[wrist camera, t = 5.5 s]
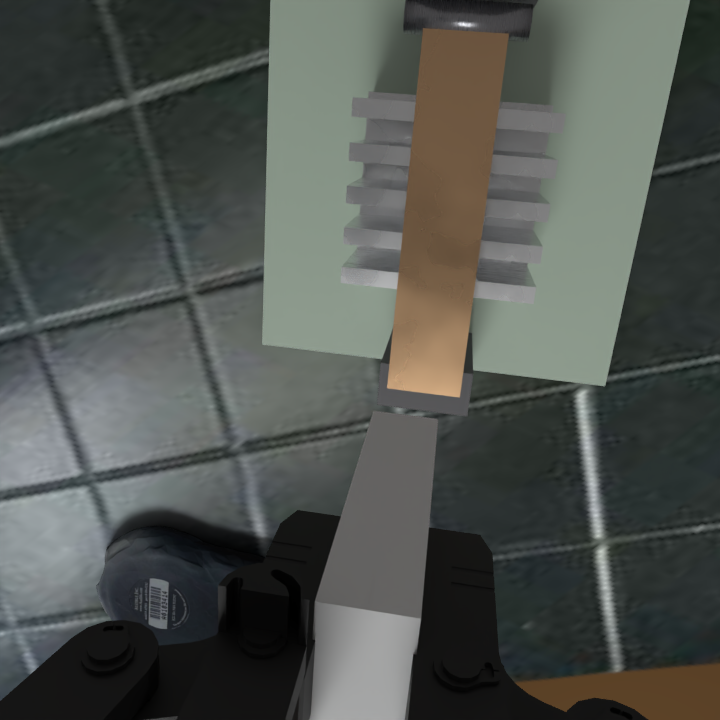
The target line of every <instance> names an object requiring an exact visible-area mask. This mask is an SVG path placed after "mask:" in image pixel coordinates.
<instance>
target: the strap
mask: <svg viewBox="0 0 720 720" xmlns="http://www.w3.org/2000/svg"><path fill="white" fill-rule="evenodd" d="M533 7H534V4H528V3H511V2H494V1H477V0H406V1H405V9H404V23H403V31H404V34H412V35H422V44H421V54H420V64H419V74H418V84H417V94H416V104H415V114H414V124H413V134H412V144H411V154H410V164H409V174H408V184H407V194H406V204H405V214H404V224H403V234H402V244H401V254H400V264H399V274H398V284H397V294H396V304H395V314H394V324H393V334H392V344H391V354H390V364H389V374H388V384H387V388H389V389H396V390H404V391H412V392H420V393H428V394H436V395H444V396H452V397H460V392H461V385H462V377H463V370H464V363H465V355H466V348H467V341H468V333H469V326H470V318H471V311H472V304H473V296H474V289H475V281H476V274H477V267H478V259H479V252H480V245H481V237H482V230H483V222H484V215H485V208H486V200H487V193H488V185H489V178H490V171H491V163H492V156H493V148H494V141H495V134H496V126H497V119H498V112H499V104H500V97H501V89H502V82H503V75H504V67H505V60H506V52H507V45H508V41H519V42H528V39H529V35H530V30H531V24H532V17H533Z"/></svg>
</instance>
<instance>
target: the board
mask: <svg viewBox="0 0 720 720" xmlns="http://www.w3.org/2000/svg"><path fill="white" fill-rule="evenodd" d="M405 1H406V0H271V3H270V44H269V86H268V128H267V169H266V211H265V252H264V294H263V336H262V344H263V345H271V346H279V347H287V348H296V349H304V350H312V351H320V352H329V353H337V354H345V355H353V356H361V357H370V358H378V359H382V361H381V366H380V377H379V388H378V399H377V405H383V406H391V407H399V408H406V409H414V410H422V411H430V412H437V413H445V414H453V415H460V416H467V414H468V407H469V400H470V393H471V386H472V379H473V370H477V371H485V372H493V373H501V374H510V375H518V376H526V377H534V378H543V379H551V380H559V381H567V382H575V383H584V384H592V385H600V386H605V384H606V380H607V375H608V371H609V366H610V361H611V357H612V352H613V348H614V343H615V339H616V334H617V330H618V325H619V320H620V316H621V311H622V307H623V302H624V298H625V293H626V289H627V284H628V280H629V275H630V270H631V266H632V261H633V257H634V252H635V248H636V243H637V239H638V234H639V229H640V225H641V220H642V216H643V211H644V207H645V202H646V198H647V193H648V189H649V184H650V179H651V175H652V170H653V166H654V161H655V157H656V152H657V148H658V143H659V138H660V134H661V129H662V125H663V120H664V116H665V111H666V107H667V102H668V98H669V93H670V88H671V84H672V79H673V75H674V70H675V66H676V61H677V57H678V52H679V47H680V43H681V38H682V34H683V29H684V25H685V20H686V16H687V11H688V7H689V2H690V0H477V1H494V2H511V3H528V4H534V7H533V17H532V24H531V30H530V35H529V39H528V42H519V41H508V45H507V52H506V60H505V67H504V75H503V82H502V89H501V97H500V102H513V103H527V104H540V105H553V112H552V113H564V114H566V117H565V123H564V128H563V134H561V133H549V136H548V142H547V149H546V155H548V156H550V157H552V158H555V159H557V160H558V164H557V169H556V175H555V179H548V178H542V179H541V185H540V191H539V193H540V194H541V195H542V196H543V197H544V198H545V199H546V200H547V201H548V202H549V203H550V204H551V205H550V210H549V216H548V222H547V223H546V222H536V221H535V222H534V228H533V230H534V232H535V234H536V235H537V237H538V239H539V240H540V242H541V244H542V246H543V251H542V257H541V263H540V264H533V263H528V264H527V266H528V268H529V271H530V273H531V276H532V278H533V281H534V283H535V285H536V292H535V298H534V304H528V303H519V302H510V301H501V300H492V299H483V298H474V297H473V304H472V311H471V318H470V326H469V333H468V341H467V348H466V355H465V363H464V370H463V377H462V385H461V392H460V397H452V396H444V395H436V394H428V393H420V392H412V391H404V390H396V389H389V388H387V384H388V374H389V364H390V354H391V344H392V334H393V324H394V314H395V304H396V294H397V289H391V288H382V287H373V286H364V285H355V284H345V283H341V268H342V266H343V264H344V263H345V262H346V261H347V260H348V258H349V257H350V256H351V255H352V254H353V252H354V251H355V250H356V249H357V245H348V244H343V238H344V227H345V226H346V225H347V224H348V223H349V222H350V221H351V220H353V219H354V218H355V217H356V216H357V215H358V214H359V213H360V205H358V204H347V203H346V192H347V185H349V184H351V183H352V182H354V181H356V180H358V179H359V178H361V177H362V176H363V162H355V161H349V146H350V142H354V141H359V140H363V139H365V135H366V121H367V118H362V117H351V115H352V100H353V97H356V98H368V93H369V92H382V93H395V94H408V95H416V94H417V84H418V74H419V64H420V54H421V44H422V35H412V34H404V31H403V23H404V9H405Z"/></svg>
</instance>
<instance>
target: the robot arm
mask: <svg viewBox="0 0 720 720" xmlns="http://www.w3.org/2000/svg"><path fill="white" fill-rule="evenodd" d="M437 426H438V419H433V418H425V417H417V416H410V415H402V414H394V413H386V412H378V411H373V414H372V418H371V421H370V424H369V427H368V430H367V434H366V437H365V440H364V443H363V447H362V450H361V453H360V456H359V460H358V463H357V466H356V469H355V473H354V476H353V479H352V482H351V486H350V489H349V492H348V495H347V499H346V502H345V505H344V508H343V512H342V515H341V516H334V515H327V514H321V513H314V512H307V511H300V510H297V511H296V512H295V513H293V514H292V515H291V516H290V517H288V518H287V519H286V520H284V521H283V522H282V523H281V524H280V526H279V528H278V530H277V532H276V535H275V537H274V539H273V542H272V544H271V546H270V548H269V550H268V552H267V555H266V559H264V561H263V563H256V564H251V565H247V566H242V567H240V568H238V569H236V570H235V571H233V572H231V573H229V574H227V575H226V577H225V578H224V579H223V580H222V581H221V582H220V584H219V585H218V633H217V634H216V635H215V636H212V637H209V638H206V639H204V640H200V641H195V642H189V643H180V644H169V645H159V644H158V641H157V639H156V637H155V635H154V633H153V631H152V630H150V629H149V628H147V627H146V626H144V625H143V624H141V623H137V622H133V621H128V620H116V621H105V622H103V623H100V624H97V625H94V626H91V627H88V628H86V629H85V630H83V631H82V632H80V633H79V634H77V635H76V636H74V637H73V638H71V639H70V640H69V641H68V642H67V643H65V644H64V645H63V646H62V647H61V648H60V649H59V650H58V651H56V652H55V653H54V654H53V655H52V656H51V657H50V658H49V659H47V660H46V661H45V662H44V663H43V664H42V665H41V666H40V667H38V668H37V669H36V670H35V671H34V672H33V673H32V674H30V675H29V676H28V677H27V678H26V679H25V680H24V681H23V682H21V683H20V684H19V685H18V686H17V687H16V688H15V689H14V690H12V691H11V692H10V693H9V694H8V695H7V696H6V697H5V698H3V699H2V700H1V701H0V720H648V719H646V718H645V717H644V716H642V715H641V714H640V713H638V712H637V711H636V710H634V709H632V708H630V707H628V706H625V705H623V704H621V703H618V702H616V701H613V700H606V699H599V698H592V699H588V700H582V701H578V702H577V703H576V704H575V705H573V706H572V707H571V708H570V709H569V710H567V712H564V711H562V710H560V709H558V708H555V707H553V706H551V705H548V704H546V703H544V702H542V701H540V700H538V699H536V698H535V697H533V696H531V695H529V694H528V693H526V692H525V691H524V690H523V689H521V688H520V687H519V686H517V685H516V684H515V683H514V681H513V680H512V679H511V678H510V677H509V676H508V674H507V673H506V671H505V669H504V666H503V664H502V663H501V660H500V656H499V650H498V634H497V619H496V603H495V593H494V589H495V588H494V576H493V557H492V552H491V551H490V549H489V548H488V546H487V545H486V543H485V542H484V540H483V539H482V537H481V536H480V535H477V534H470V533H463V532H456V531H449V530H442V529H436V528H429V519H430V508H431V496H432V484H433V473H434V461H435V450H436V438H437Z"/></svg>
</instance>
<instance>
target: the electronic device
mask: <svg viewBox="0 0 720 720" xmlns="http://www.w3.org/2000/svg"><path fill="white" fill-rule="evenodd" d="M264 559H266V558H265V557H261V556H258V555H255V554H251V553H244V552H238V551H237V550H233V549H228V548H224V547H218V546H215V545H212V544H209V543H204V542H203V541H201V540H200V539H198V538H196V537H194V536H192V535H189V534H187V533H185V532H179V531H176V530H174V529H172V528H169V527H159V526H152V527H144V528H140V529H136V530H133V531H131V532H129V533H127V534H125V535H124V536H122V537H120V538H119V539H117V540H116V541H114V542H113V543H112V544H111V545H110V547H109V548H108V549H107V550H106V555H105V567H104V571H103V574H102V576H101V579H100V582H99V583H98V585H96V586H97V592H98V596H99V600H100V602H101V604H102V606H103V608H104V610H105V612H106V613H107V614H108V615H109V616H110V618H111V619H112V621H116V620H128V621H133V622H137V623H141V624H143V625H144V626H146V627H147V628H149V629H150V630H152V631H153V633H154V635H155V637H156V639H157V641H158V644H159V645H169V644H180V643H189V642H195V641H200V640H204V639H206V638H209V637H212V636H215V635H216V634H217V633H218V585H219V584H220V582H221V581H222V580H223V579H224V578H225V577H226V575H227V574H229V573H231V572H233V571H235V570H236V569H238V568H240V567H242V566H247V565H251V564H256V563H263V561H264Z"/></svg>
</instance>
